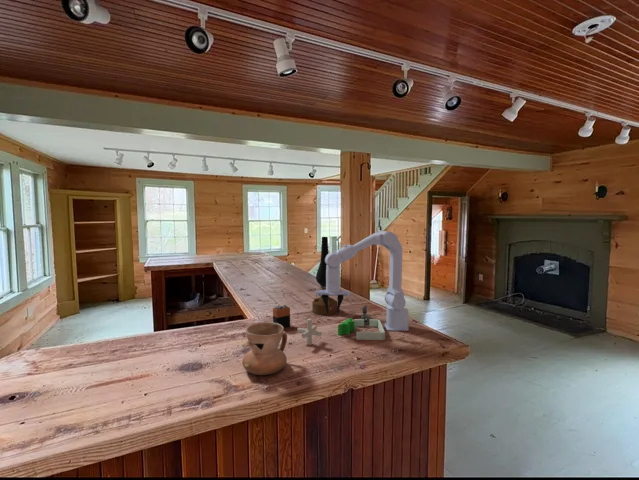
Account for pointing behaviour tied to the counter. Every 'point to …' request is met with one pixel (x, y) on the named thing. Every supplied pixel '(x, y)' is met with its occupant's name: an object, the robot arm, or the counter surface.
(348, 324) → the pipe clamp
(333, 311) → the oil lamp
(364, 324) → the pin mount
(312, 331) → the pipe connector
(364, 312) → the pin
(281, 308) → the battery
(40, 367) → the counter surface
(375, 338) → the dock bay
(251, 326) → the ceramic jug
